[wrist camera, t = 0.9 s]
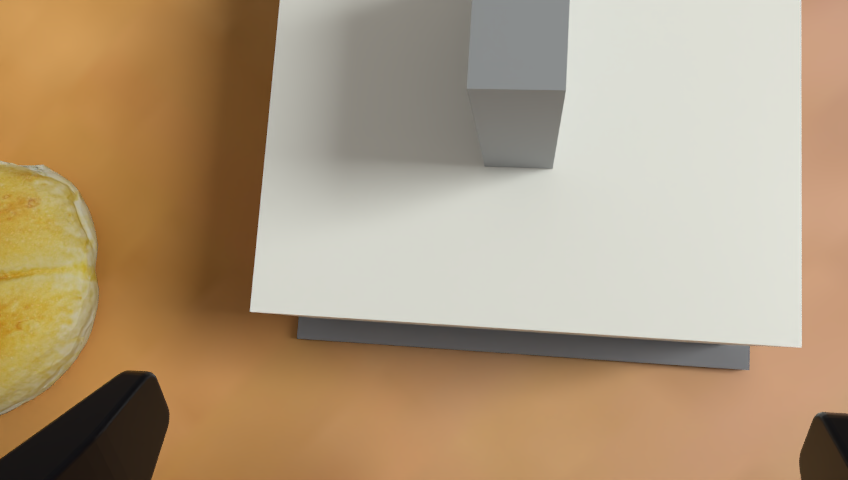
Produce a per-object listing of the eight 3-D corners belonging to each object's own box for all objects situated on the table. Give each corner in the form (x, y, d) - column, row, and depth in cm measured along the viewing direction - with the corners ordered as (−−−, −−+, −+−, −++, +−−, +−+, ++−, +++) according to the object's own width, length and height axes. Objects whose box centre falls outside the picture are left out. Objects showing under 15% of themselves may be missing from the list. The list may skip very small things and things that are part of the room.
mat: (745, 369, 22) (749, 370, 21) (300, 338, 24) (296, 338, 23) (748, -63, 23) (752, -70, 23) (335, -57, 25) (332, -63, 25)
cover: (724, 344, 21) (947, 353, 10) (319, 318, 23) (128, 300, 12) (730, -49, 23) (925, -417, 12) (350, -45, 25) (206, -360, 14)
